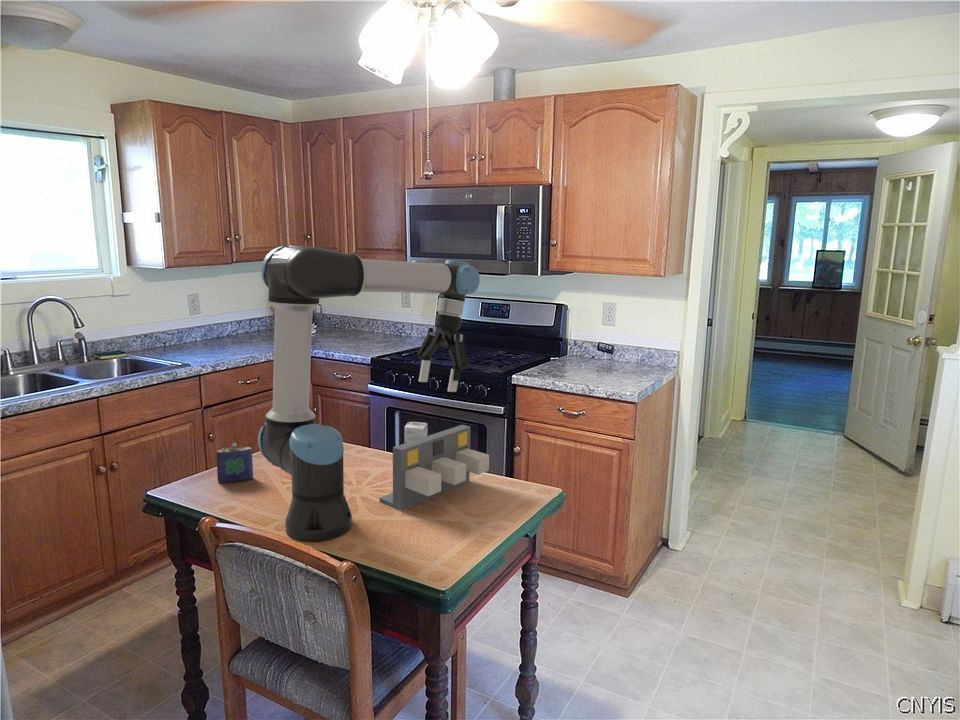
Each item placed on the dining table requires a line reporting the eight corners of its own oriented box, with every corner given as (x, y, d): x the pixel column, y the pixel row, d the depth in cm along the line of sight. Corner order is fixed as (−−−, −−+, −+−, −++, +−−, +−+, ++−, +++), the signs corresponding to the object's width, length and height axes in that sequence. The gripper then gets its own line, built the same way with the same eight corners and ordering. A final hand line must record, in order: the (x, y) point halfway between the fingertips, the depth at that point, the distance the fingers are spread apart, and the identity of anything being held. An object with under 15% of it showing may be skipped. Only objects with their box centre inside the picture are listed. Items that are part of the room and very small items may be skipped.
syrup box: (427, 469, 187) (427, 421, 184) (423, 476, 181) (423, 427, 178) (408, 467, 188) (408, 420, 185) (403, 475, 182) (403, 426, 179)
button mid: (454, 485, 161) (455, 468, 160) (424, 474, 167) (425, 458, 166) (466, 480, 164) (466, 464, 163) (436, 470, 171) (436, 454, 170)
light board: (402, 511, 158) (402, 450, 155) (379, 502, 163) (379, 442, 160) (470, 481, 178) (471, 427, 175) (448, 474, 183) (449, 421, 180)
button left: (428, 496, 153) (428, 479, 153) (398, 484, 160) (398, 468, 159) (441, 491, 157) (441, 474, 156) (411, 480, 163) (411, 463, 162)
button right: (478, 474, 168) (478, 459, 167) (449, 465, 174) (449, 449, 174) (488, 470, 171) (489, 454, 170) (459, 461, 178) (459, 446, 177)
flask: (253, 476, 178) (251, 440, 176) (253, 480, 176) (252, 443, 174) (217, 480, 175) (215, 443, 173) (217, 484, 172) (215, 447, 170)
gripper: (487, 321, 177) (474, 396, 179) (432, 310, 195) (421, 378, 196) (468, 318, 172) (454, 395, 173) (413, 307, 190) (401, 377, 191)
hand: (436, 386), depth 185 cm, fingers open, 13 cm apart
